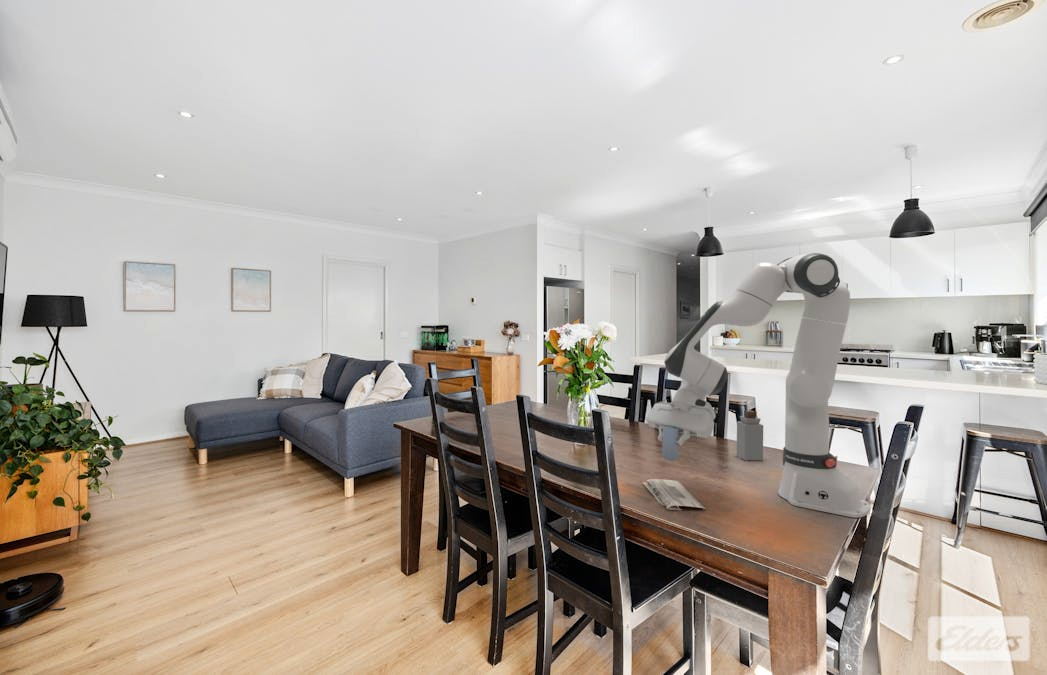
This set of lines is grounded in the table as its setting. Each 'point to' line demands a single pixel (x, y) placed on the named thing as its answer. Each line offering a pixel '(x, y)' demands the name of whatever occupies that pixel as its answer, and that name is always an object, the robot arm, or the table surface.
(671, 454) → the blue peg
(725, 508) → the table surface
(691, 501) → the newspaper
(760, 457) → the perfume bottle
